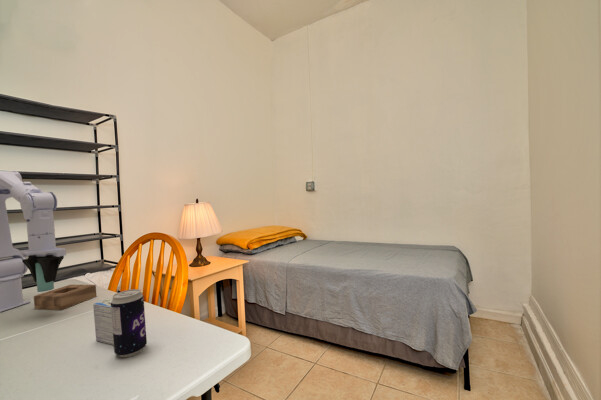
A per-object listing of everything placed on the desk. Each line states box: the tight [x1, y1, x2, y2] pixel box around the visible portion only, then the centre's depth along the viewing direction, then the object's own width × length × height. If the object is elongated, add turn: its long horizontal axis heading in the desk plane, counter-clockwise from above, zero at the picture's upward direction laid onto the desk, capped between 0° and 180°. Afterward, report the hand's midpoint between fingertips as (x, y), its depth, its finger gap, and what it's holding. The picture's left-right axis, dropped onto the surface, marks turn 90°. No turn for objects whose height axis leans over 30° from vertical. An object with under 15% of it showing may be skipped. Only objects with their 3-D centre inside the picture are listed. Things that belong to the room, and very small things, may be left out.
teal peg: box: [35, 262, 55, 293], centre depth 80 cm, size 4×4×8 cm
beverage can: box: [111, 288, 148, 358], centre depth 57 cm, size 6×6×12 cm
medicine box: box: [93, 296, 114, 346], centre depth 63 cm, size 8×4×9 cm, turn 65°
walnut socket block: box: [33, 284, 97, 311], centre depth 90 cm, size 11×11×4 cm
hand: (45, 281), depth 80 cm, fingers closed on teal peg, 3 cm apart
